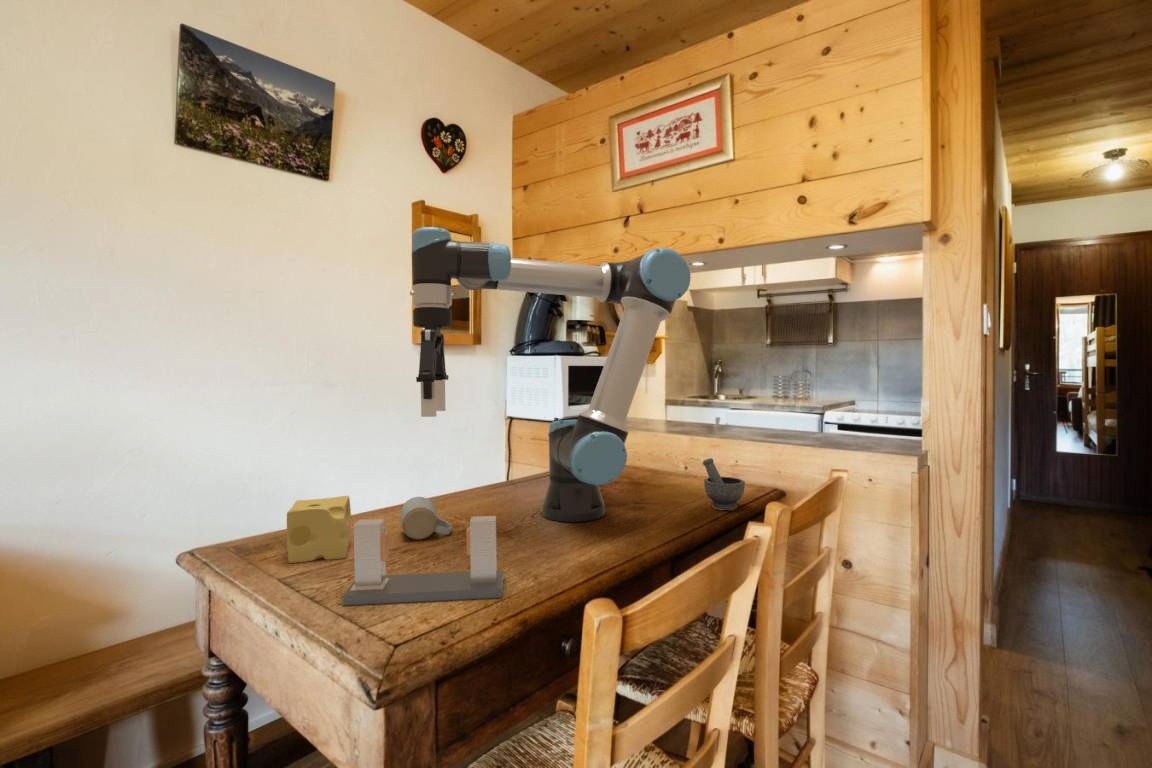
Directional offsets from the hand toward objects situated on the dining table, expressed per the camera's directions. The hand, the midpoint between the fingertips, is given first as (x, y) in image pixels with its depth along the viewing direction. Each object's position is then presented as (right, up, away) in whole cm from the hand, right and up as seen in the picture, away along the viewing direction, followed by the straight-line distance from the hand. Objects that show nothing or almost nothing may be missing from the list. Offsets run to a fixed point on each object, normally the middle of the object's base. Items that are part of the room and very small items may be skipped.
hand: (434, 413), depth 114 cm
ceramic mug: (-4, -27, +8) cm, 28 cm away
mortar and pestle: (+66, -25, +30) cm, 76 cm away
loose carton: (-4, -26, -24) cm, 35 cm away
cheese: (-21, -27, -3) cm, 35 cm away
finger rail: (+5, -27, -23) cm, 36 cm away
